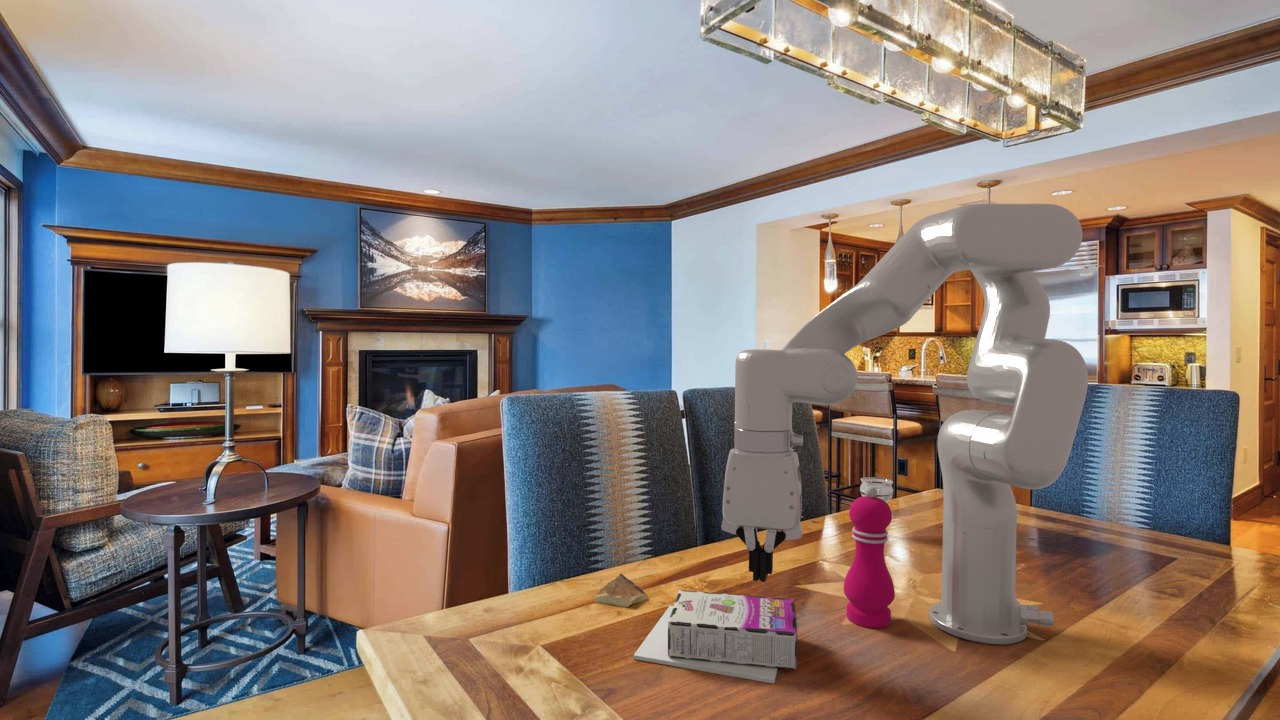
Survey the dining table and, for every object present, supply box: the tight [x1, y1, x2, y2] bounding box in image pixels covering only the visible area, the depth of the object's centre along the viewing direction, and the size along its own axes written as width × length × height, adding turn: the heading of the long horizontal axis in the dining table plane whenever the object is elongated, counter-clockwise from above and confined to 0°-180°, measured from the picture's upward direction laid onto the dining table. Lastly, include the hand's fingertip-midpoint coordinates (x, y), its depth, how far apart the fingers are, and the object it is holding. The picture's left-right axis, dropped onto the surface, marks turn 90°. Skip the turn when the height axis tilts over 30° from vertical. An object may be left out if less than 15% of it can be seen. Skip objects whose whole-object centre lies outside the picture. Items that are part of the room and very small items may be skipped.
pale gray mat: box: [633, 605, 779, 684], centre depth 89 cm, size 18×17×1 cm
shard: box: [594, 573, 648, 608], centre depth 106 cm, size 11×8×2 cm
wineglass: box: [859, 476, 894, 503], centre depth 140 cm, size 7×7×12 cm
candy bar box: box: [668, 589, 798, 670], centre depth 87 cm, size 11×5×16 cm
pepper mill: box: [843, 486, 896, 629], centre depth 97 cm, size 7×7×20 cm
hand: (760, 577), depth 87 cm, fingers closed
